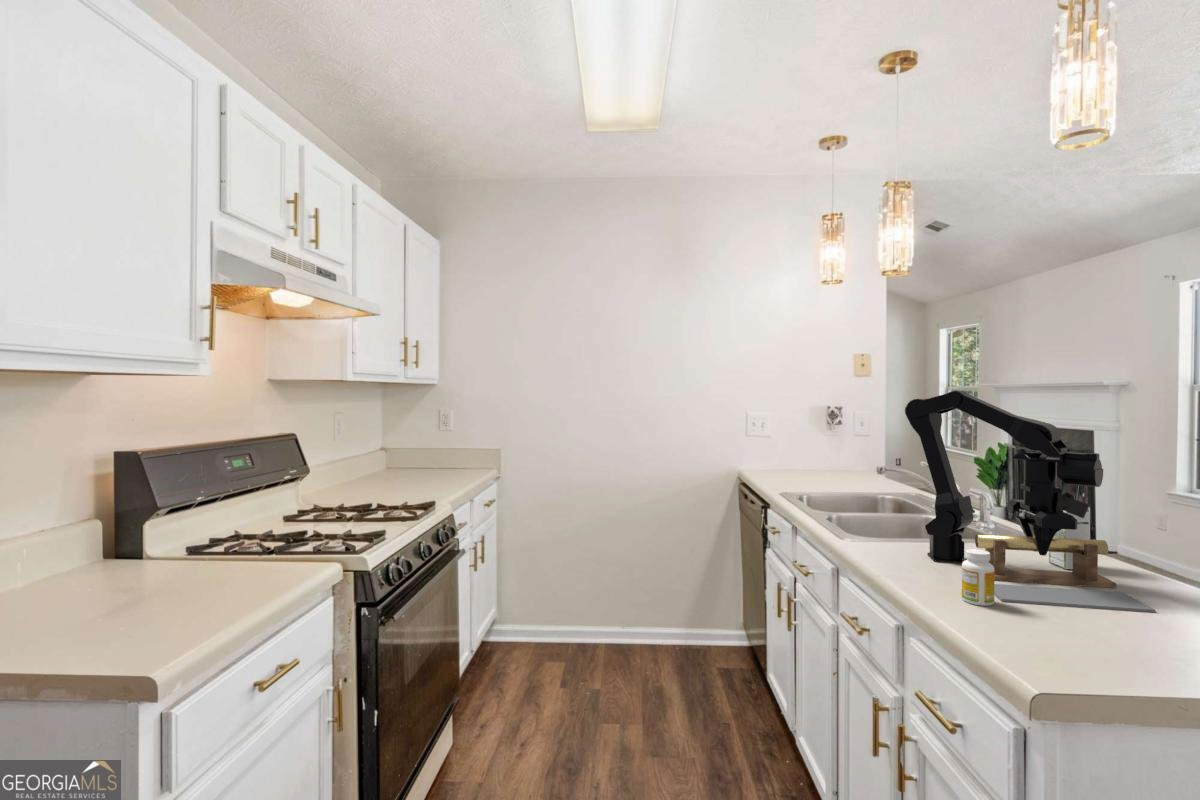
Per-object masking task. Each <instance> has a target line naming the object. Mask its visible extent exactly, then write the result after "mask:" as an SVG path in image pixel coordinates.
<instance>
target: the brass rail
mask: <svg viewBox="0 0 1200 800" xmlns="http://www.w3.org/2000/svg"><path fill="white" fill-rule="evenodd" d="M993 540H1004V541H1006V548H1005V550H1009V551H1010V550H1011V551H1028V552H1031V551H1032V552H1035V551H1038V549H1037V547H1036V544H1035V541H1034V538H1033V537H1027V536H1023V535H1005V534H1003V535H1001V534H983V533H981V534H980V533H977V534H975V536H974V543H975V547H976V548H978V549H985V548H988V549H993ZM1084 544H1093V545H1097V546H1098V555H1104V556H1105V555H1108V553H1109V544H1108V543H1107V541H1106V540H1104V539H1090V540H1089V539H1069V538H1053V539H1052V541H1051V544H1050V547H1049V549H1048V552H1047V553H1049V552H1063V553H1082V554H1084Z"/></svg>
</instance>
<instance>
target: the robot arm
mask: <svg viewBox="0 0 1200 800" xmlns="http://www.w3.org/2000/svg"><path fill="white" fill-rule="evenodd" d="M904 408H905V409H904V413H905V414H904V415H906V418H907V420H908V422H909V425H910V426H911V428H912V429H913V430H914V431H915V433H916V434H917V435H918V436H919V439H920V442H921V446H922V449H923V452H924V455H925V458H926V459H925V460H926V463H927V467H928V469H929V473H930V475H931V476H930V477H931V480H932V482H933V483H932V484H933V487H934V490H935V494H936V495H935V502H934V512H935V517H934V518H933V519H932V520H931V521H929V522H928V523H927V524H925V525H924V526H925V531H926V532H927V533H926V534H927V535H929V552H927V556H928V557H929V558H930V559H931V560H933V562H938V563H939V562H941V563H955V564H956V563H957V564H958V563H959V564H962V563H963V562H964V561H965V560H964V559H965V542H964V540H963V536H962V534H963V533H964V532H965V530H966V527H967V528H968V526H970V525H971V524H972V523H973V521H974V513H976V511H975V509H974V508H973V506H972V499H971V497H970V495H966V496H963V494H962V493H961V492H960V491H959V488H958V487H957V483H956V479H955V476H954V474H953V470H952V466H951V462H950V460H949V457H948V453H947V450H946V447H945V443H944V439H943V437H942V436H943V435H942V433H941V431H942V430H941V429H942V425H943V416H942V414H946V413H949V412H951V411H954V410H956V409H957V410H960V411H961V412H964V413H965V414H968V415H970V416H972V417H975V418H976V419H979V420H980V421H982V422H984V423H987V424H989V425H991V426H994V427H995V428H998V429H1000V430H1002V431H1003V432H1006V434H1007V435H1009V436H1010V437H1011V438H1012V439H1014V441H1016V442H1018V443H1019V444H1021V445H1022V446H1023V448H1021V449H1020V450H1019V451H1018V452H1017V453H1015V454H1014V455H1012V459H1015V460H1023V461H1024V462H1023V483H1020V484H1019V488H1020V489H1021V490H1023V499H1016V498H1014V499H1010V500H1009V501H1008V502H1007V503H1006V512H1008V513H1010V514H1015V513H1016V512H1018V513H1019V514H1018V515H1015V516H1014V518H1015V519H1016V520H1017V523H1018V524H1019V526H1020V528H1021V530H1022V532H1023V534H1024V535H1025V536H1027V537H1033V538H1034V541H1035V544H1036V547H1037V549H1038V551H1034V552H1035V553H1036V552H1037V553H1038V554H1039V556H1043V557H1044V556H1047V554H1048V553H1049V552H1048V549H1049V547H1050V544H1051V541H1052V539H1053V537H1054V535H1055V533H1056V532H1058V531H1059V530H1061V529H1073V530H1076V529H1077V519H1075V518H1074V517H1073V516H1072V515H1070V514H1067V513H1065V512H1063V510H1064V511H1067V512H1068V513H1071V514H1074V515H1076V516H1078V517H1081V518H1084V517H1085V515H1086V512H1087V510H1088V508H1089V507H1090V504H1089V503H1086V502H1084V501H1081V500H1077V499H1074V495H1073V494H1072V493H1069V492H1067V491H1064V490H1062V488H1061V487H1058V486H1057V477H1058V479H1059V480H1060V481H1062V482H1063V483H1064V484H1065V485H1072V486H1073V485H1075V486H1085V487H1095V488H1100V487H1101V486H1102V483H1103V478H1104V468H1103V465H1102V461H1101V460H1100V459H1101V458H1100V453H1097V452H1089V453H1088V452H1087V453H1085V452H1084V453H1082V452H1072V450H1071V449H1070V448H1069V447H1068V446H1067V444H1066V443H1065V442H1064V441H1063V439H1062V438H1061V433H1060V431H1059V428H1057V427H1056V425H1054V424H1051V423H1049V422H1044V421H1041V420H1037V419H1035V418H1034V419H1033V418H1028V417H1024V416H1020V415H1017V414H1014V413H1011V412H1010V411H1008V410H1005V409H1003V408H1001V407H998V406H995V405H993V404H991V403H989V402H988V401H987V402H986V401H985V400H982V399H980V398H978V397H976V396H974V395H971V394H969V393H968V392H966V391H965V390H951V391H949V392H947V393H944V394H941V395H936V396H932V397H929V398H914V399H912V400H910V401H908V403H907V404H906V406H905V407H904ZM1029 450H1031V451H1029ZM1037 451H1039V452H1037Z"/></svg>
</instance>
